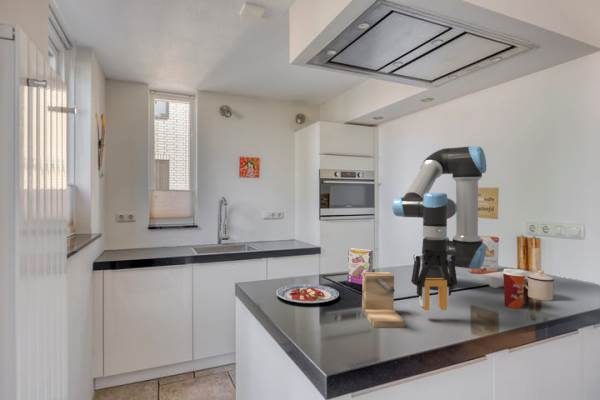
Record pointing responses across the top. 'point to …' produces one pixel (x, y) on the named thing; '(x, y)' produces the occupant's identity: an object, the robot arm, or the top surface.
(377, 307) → the wooden l-shaped stand
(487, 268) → the cracker box
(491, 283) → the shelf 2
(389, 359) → the top surface
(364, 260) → the candy bar box
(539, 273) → the teacup with lid
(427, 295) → the orange u-shaped bracket
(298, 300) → the ceramic plate
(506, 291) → the paper cup
